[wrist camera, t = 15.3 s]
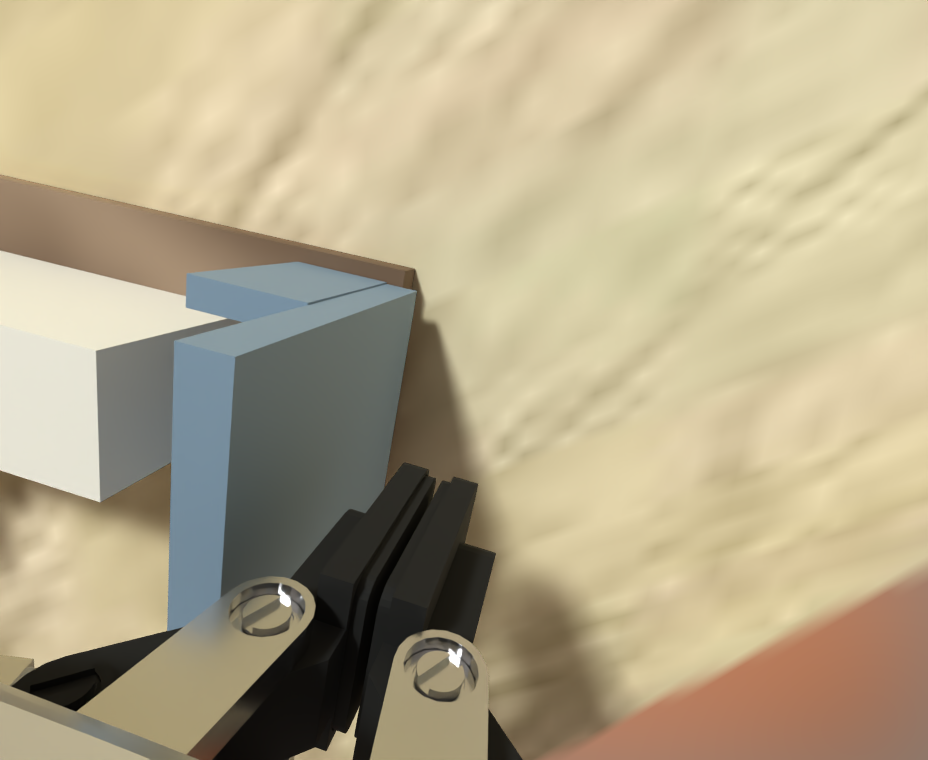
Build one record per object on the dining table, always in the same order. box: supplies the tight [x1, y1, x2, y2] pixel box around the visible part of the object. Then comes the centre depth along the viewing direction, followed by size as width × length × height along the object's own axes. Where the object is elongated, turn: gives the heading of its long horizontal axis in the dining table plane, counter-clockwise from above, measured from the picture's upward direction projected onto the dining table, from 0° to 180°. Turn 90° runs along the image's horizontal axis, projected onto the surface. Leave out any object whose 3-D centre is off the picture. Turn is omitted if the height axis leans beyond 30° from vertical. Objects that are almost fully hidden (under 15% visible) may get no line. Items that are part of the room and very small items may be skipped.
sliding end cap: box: [167, 262, 417, 631], centre depth 13 cm, size 8×4×9 cm, turn 169°
